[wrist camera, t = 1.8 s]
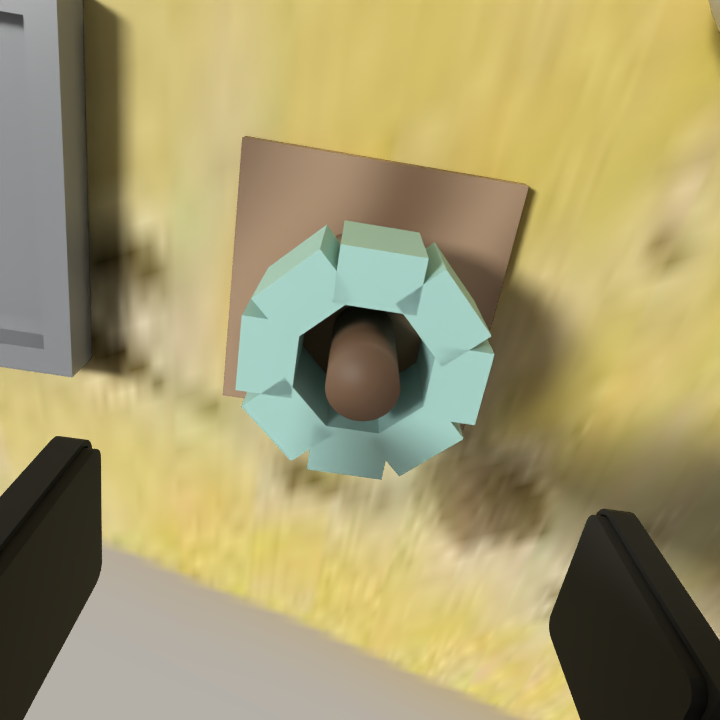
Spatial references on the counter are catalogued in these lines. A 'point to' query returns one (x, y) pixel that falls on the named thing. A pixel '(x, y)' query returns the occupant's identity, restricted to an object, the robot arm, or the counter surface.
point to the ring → (374, 291)
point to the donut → (715, 11)
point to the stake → (332, 207)
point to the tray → (43, 188)
